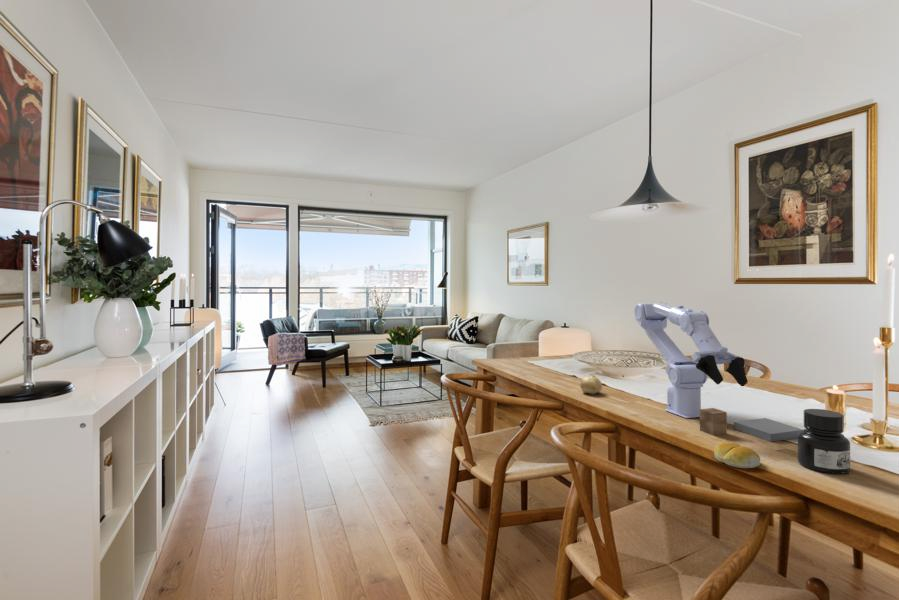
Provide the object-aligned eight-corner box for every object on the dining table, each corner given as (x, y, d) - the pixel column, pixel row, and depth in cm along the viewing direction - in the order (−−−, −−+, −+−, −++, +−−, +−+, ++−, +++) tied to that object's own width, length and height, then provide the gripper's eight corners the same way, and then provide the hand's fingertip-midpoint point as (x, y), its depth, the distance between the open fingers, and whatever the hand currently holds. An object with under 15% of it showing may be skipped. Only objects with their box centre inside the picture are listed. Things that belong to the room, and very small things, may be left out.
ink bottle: (824, 477, 94) (824, 420, 94) (786, 461, 103) (786, 409, 103) (862, 472, 96) (863, 417, 96) (822, 457, 105) (822, 406, 104)
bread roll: (733, 453, 109) (733, 436, 109) (767, 467, 100) (767, 449, 100) (704, 456, 107) (704, 440, 107) (736, 471, 98) (736, 453, 98)
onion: (605, 395, 166) (604, 376, 166) (583, 396, 167) (583, 377, 167) (598, 390, 174) (598, 372, 174) (578, 391, 175) (577, 372, 174)
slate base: (733, 428, 126) (733, 421, 126) (765, 425, 129) (765, 418, 129) (770, 441, 115) (770, 434, 115) (804, 437, 118) (804, 429, 118)
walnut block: (699, 430, 125) (699, 409, 125) (713, 429, 126) (713, 407, 126) (712, 435, 121) (712, 413, 121) (726, 434, 122) (726, 412, 122)
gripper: (693, 332, 126) (717, 371, 116) (738, 337, 129) (765, 376, 119) (680, 349, 131) (702, 387, 121) (723, 353, 133) (748, 391, 123)
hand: (732, 383), depth 120 cm, fingers open, 7 cm apart
